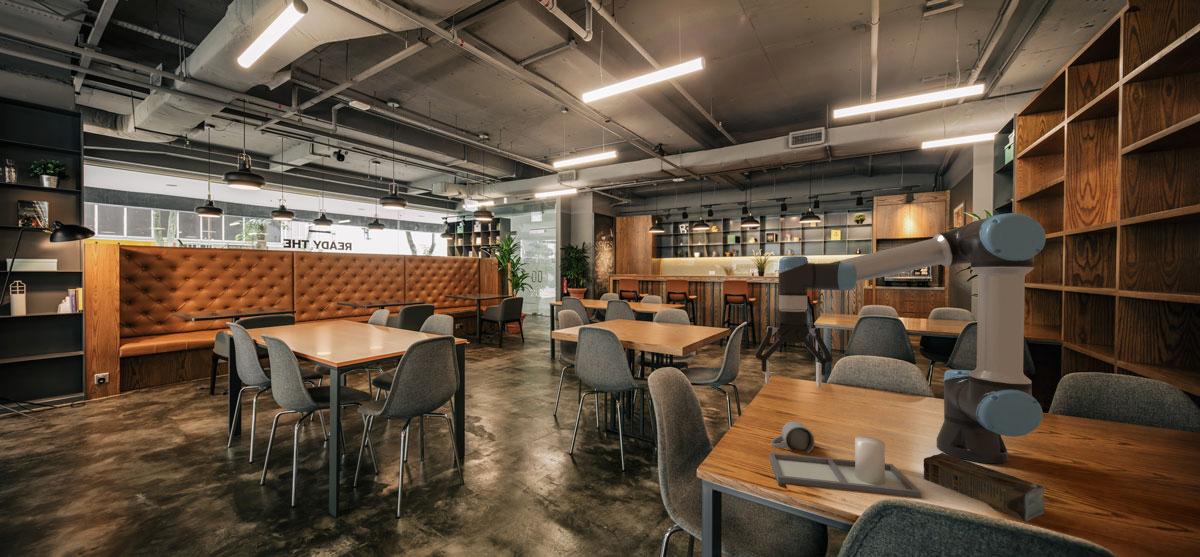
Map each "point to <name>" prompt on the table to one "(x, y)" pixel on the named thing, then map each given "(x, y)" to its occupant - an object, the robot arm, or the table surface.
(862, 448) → the white pillar candle
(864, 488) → the cup caddy
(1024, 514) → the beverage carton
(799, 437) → the ceramic mug
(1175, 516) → the table surface
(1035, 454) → the table surface
